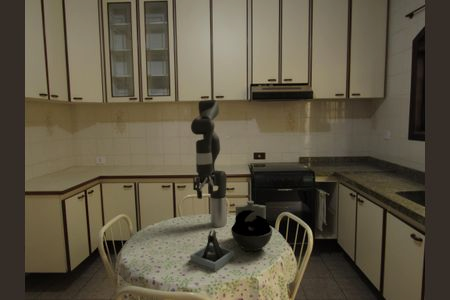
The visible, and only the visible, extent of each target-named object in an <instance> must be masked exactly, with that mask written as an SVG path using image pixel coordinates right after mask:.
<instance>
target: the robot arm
mask: <svg viewBox="0 0 450 300" xmlns="http://www.w3.org/2000/svg"><path fill="white" fill-rule="evenodd" d="M219 109H220V107H219V102H218V100H216V99H206V100H200V101H199V102H198V112H199V116H198V117H196V118H194V119H193V120H192V122H191V125H190V129H191V132H192V134H194V135H197V136H198V135H199V136H200V135H202V139H198V140H196V141H195V153H196V154H195V167H196V173H197V176H193V178H192V179H193V181H192V182H193V183H192V184H193V188H192V189H193V191H196V197H197V199H199V200H202V199H203V188H204V187H205V185H206V184H207V185H208V189H207V190H208V195H209V196H210V226H211V227H214V228H222V227H225V226H226V225H227V224H228V215H227V214H228V213H227V212H228V211H227V210H228V209H227V203H226V201H227V199H226V194H227V182H228V181H227V179H228V176H227V173H226V172H225V171H224V170H216V168H215V163H216V160H217V159H218V156H219V154H220V152H221V143H220V138H219V136H218V134H217V133H216V132H215V122H214V119H215V118H216V117H218V115H219V112H220V110H219ZM214 187H217V190H214Z"/></svg>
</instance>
